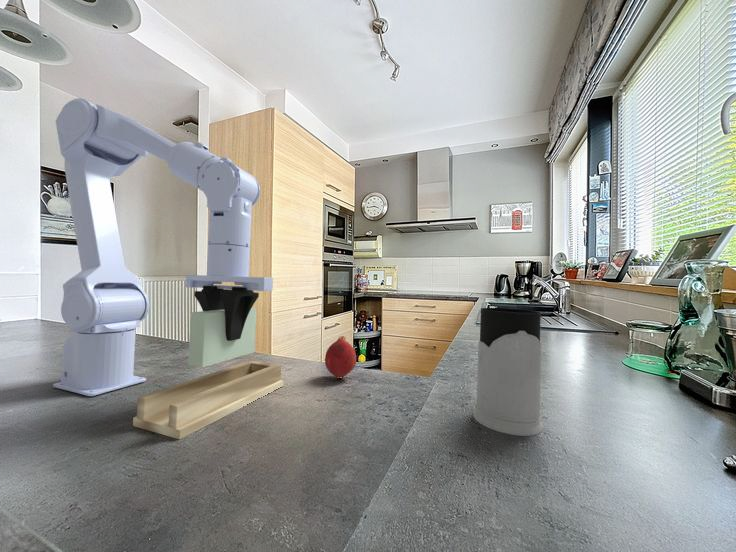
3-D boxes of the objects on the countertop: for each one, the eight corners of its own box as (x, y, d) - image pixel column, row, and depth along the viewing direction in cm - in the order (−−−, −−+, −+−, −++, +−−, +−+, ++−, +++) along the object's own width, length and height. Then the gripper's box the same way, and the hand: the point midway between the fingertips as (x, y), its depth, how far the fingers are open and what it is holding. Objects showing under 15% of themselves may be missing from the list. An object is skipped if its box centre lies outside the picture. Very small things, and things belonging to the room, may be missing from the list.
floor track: (133, 425, 36) (134, 396, 36) (247, 380, 54) (247, 360, 54) (179, 439, 34) (181, 407, 34) (283, 386, 52) (284, 365, 52)
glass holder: (484, 433, 38) (488, 311, 38) (456, 392, 52) (459, 304, 52) (557, 437, 38) (560, 314, 38) (509, 395, 52) (511, 306, 52)
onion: (350, 385, 53) (352, 339, 54) (319, 382, 55) (321, 337, 55) (358, 375, 59) (360, 334, 59) (330, 372, 60) (331, 332, 60)
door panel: (188, 364, 41) (190, 312, 41) (242, 350, 50) (244, 307, 51) (202, 367, 40) (205, 313, 40) (254, 352, 50) (256, 308, 50)
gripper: (286, 249, 47) (283, 338, 47) (213, 249, 52) (210, 330, 52) (255, 243, 40) (250, 347, 40) (174, 244, 45) (170, 337, 45)
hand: (225, 338), depth 45 cm, fingers closed on door panel, 2 cm apart
